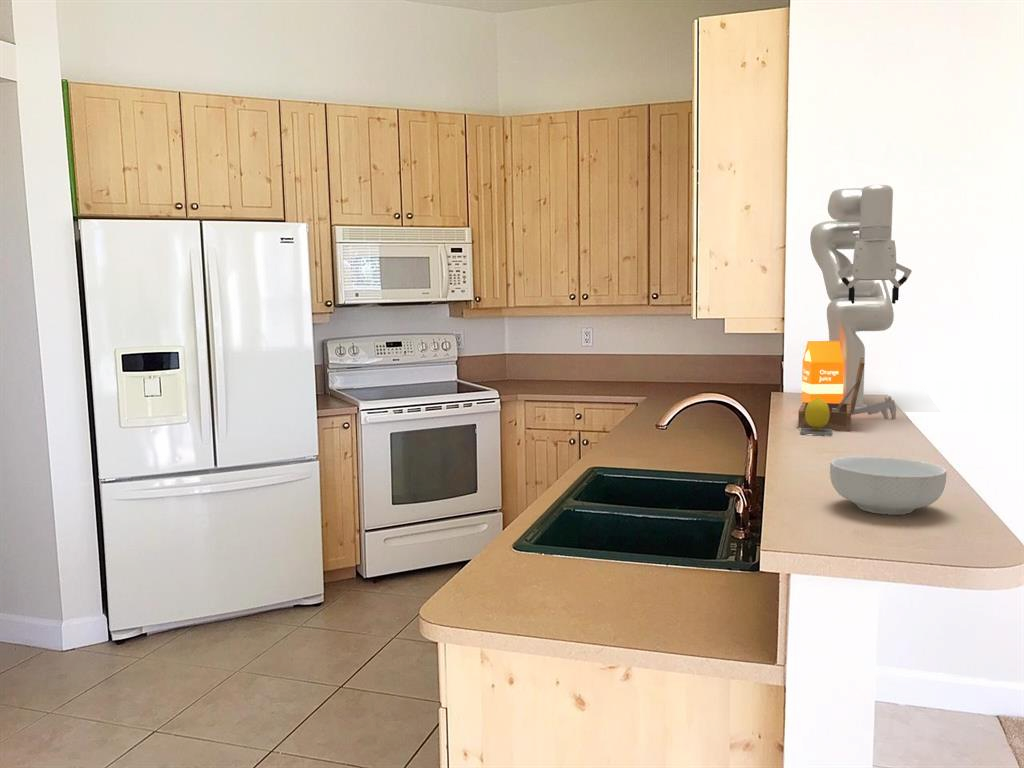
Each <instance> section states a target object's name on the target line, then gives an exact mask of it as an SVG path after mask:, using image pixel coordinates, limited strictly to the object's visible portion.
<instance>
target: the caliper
mask: <svg viewBox="0 0 1024 768" xmlns="http://www.w3.org/2000/svg"><path fill="white" fill-rule="evenodd" d="M887 409H889V411H890V415H891V420H895V419H896V415H897V412H896V411H897V408H896V402H895V400H893V399H892V396H888V397H884V401H879V402H878V401H877V402H873V403H870V404H869V403H868V404H867V405H866V406H865V407H860V408H855V409H854V412H853V413H851V416H854V415H860V414H865V413H867V414H868V415H874V414H878V413H880V412H881V414H882V416H883V417H884V419H885V420H889V414H888V410H887Z"/></svg>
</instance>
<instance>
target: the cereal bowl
mask: <svg viewBox="0 0 1024 768" xmlns="http://www.w3.org/2000/svg"><path fill="white" fill-rule="evenodd" d="M829 467H830V468H829V476H830V481H831V485H832V487H833V488H834V490H835V491H836V492H837V494H838V495H839V496H841V497H842V498H844V499H845V500H847V501H849V502H852V503H853V504H855V505H856V506H857V508H859V509H860V510H862V511H864V512H868V513H874V514H880V515H887V514H888V515H889V516H890V515H892V516H893V515H894V516H896V515H897V516H898V515H899V516H900V515H908V514H910V513H912V512H914V510H916V509H917V510H918V509H920V508H921V509H922V508H925V507H927V506H930V505H932V504H934V503H935V502H936V501H938V500H939V499H940V497H941V496H942V495H943V492H944V490H945V486H946V482H947V470H946V468H944V467H943V466H942V465H938V464H936V463H932V462H928V461H922V460H917V459H910V458H900V457H893V456H891V457H889V456H871V455H870V456H869V455H867V456H866V455H864V456H863V455H862V456H861V455H860V456H859V455H857V456H855V455H853V456H843V457H841V456H840V457H837V458H833V459H832V460H831V461H830V466H829ZM907 513H908V514H907Z"/></svg>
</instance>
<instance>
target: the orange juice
mask: <svg viewBox="0 0 1024 768" xmlns="http://www.w3.org/2000/svg"><path fill="white" fill-rule="evenodd" d="M803 354H804V355H803V357H802V359H803V360H802V376H801V377H802V379H801V380H802V381H801V403H802V402H810V401H811V400H813V399H815V398H816V397H819V398H820V399H822V400H824V401H825V402H826V403H840V402H841V401H842V399H843V368H844V362H843V358H842V353H841V348H840V343H839V341H829V340H812V341H811V340H810V341H809V340H808V341H807V342H806V346H805V351H804V353H803Z"/></svg>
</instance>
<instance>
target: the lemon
mask: <svg viewBox="0 0 1024 768" xmlns="http://www.w3.org/2000/svg"><path fill="white" fill-rule="evenodd" d="M829 417H830V411H829V407H828V404H827V403H826V402H825V401H824V400H822V399H820V398H819V397H816V398H815V399H813V400H811V401H810V402H809V403H808V404H807V407H806V410H805V418H806V421H807V423H808V424H809V425H810V426H811V427H813V428H814V429H815V430H819V429H820V428H821V427H824V426H825V425H826V424H827V423H828V421H829Z"/></svg>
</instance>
